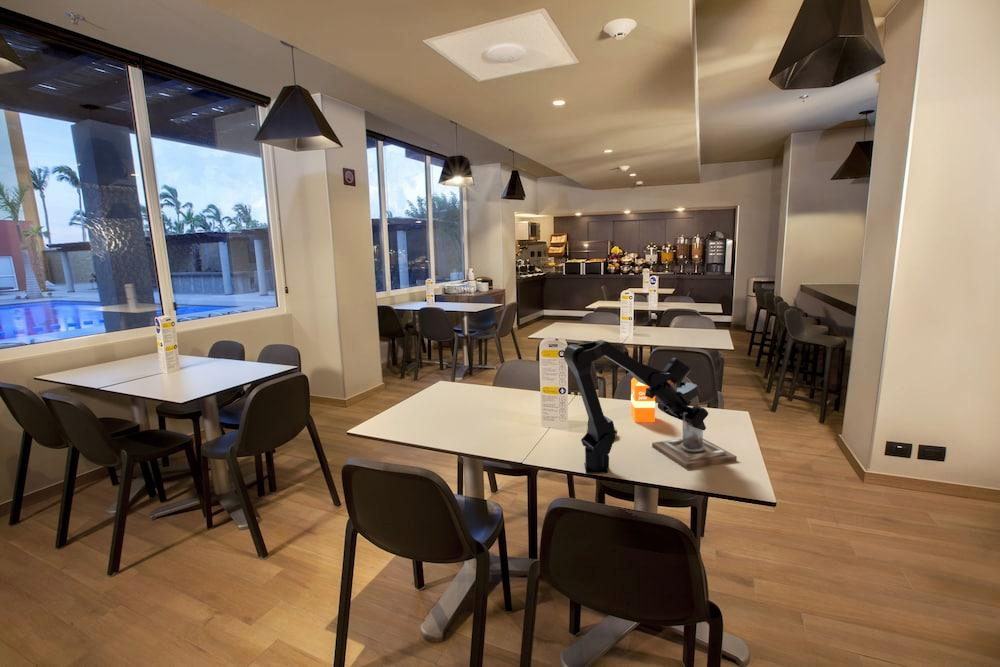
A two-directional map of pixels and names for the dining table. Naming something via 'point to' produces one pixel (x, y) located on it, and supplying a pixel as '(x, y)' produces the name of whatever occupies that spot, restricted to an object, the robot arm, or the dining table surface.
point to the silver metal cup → (692, 439)
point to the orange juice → (641, 403)
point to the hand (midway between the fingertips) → (697, 425)
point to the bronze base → (691, 460)
